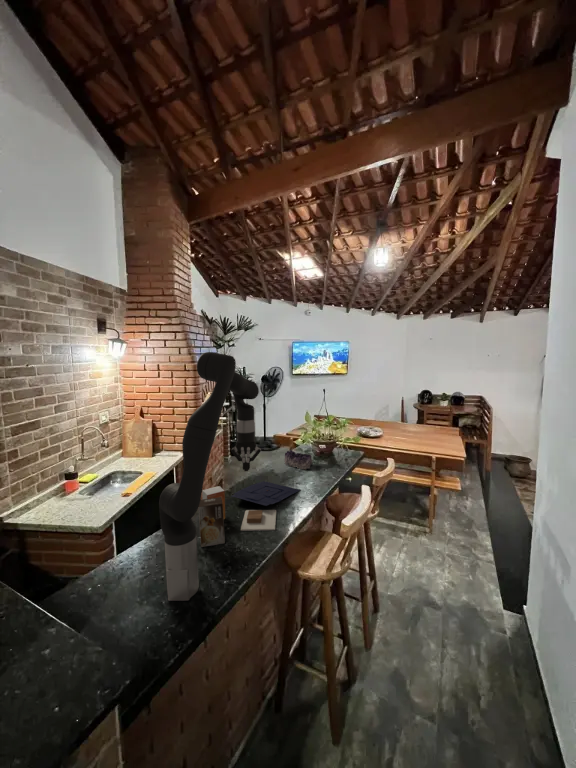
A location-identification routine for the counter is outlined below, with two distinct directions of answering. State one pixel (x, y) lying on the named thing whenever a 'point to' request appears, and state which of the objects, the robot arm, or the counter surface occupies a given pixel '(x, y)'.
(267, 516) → the mat
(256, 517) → the slab
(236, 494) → the navy rectangular panel
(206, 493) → the small box
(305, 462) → the geode
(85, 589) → the counter surface
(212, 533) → the coffee box
